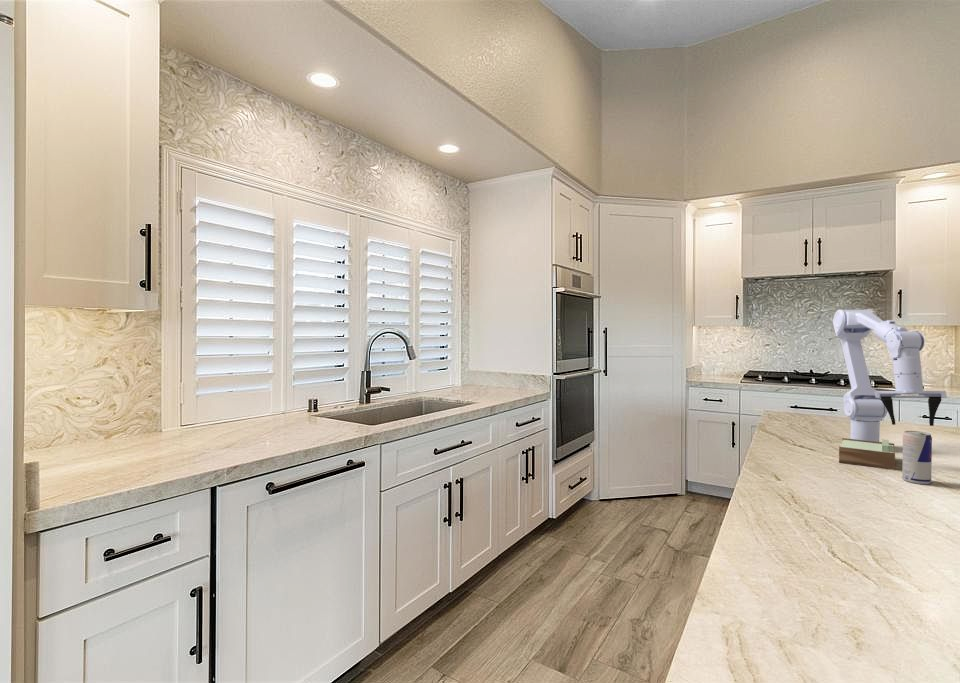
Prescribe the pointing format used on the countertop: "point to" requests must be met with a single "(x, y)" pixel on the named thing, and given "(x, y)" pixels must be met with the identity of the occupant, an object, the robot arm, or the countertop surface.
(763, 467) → the countertop surface
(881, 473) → the countertop surface
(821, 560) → the countertop surface
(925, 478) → the energy drink
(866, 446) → the lid
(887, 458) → the box
